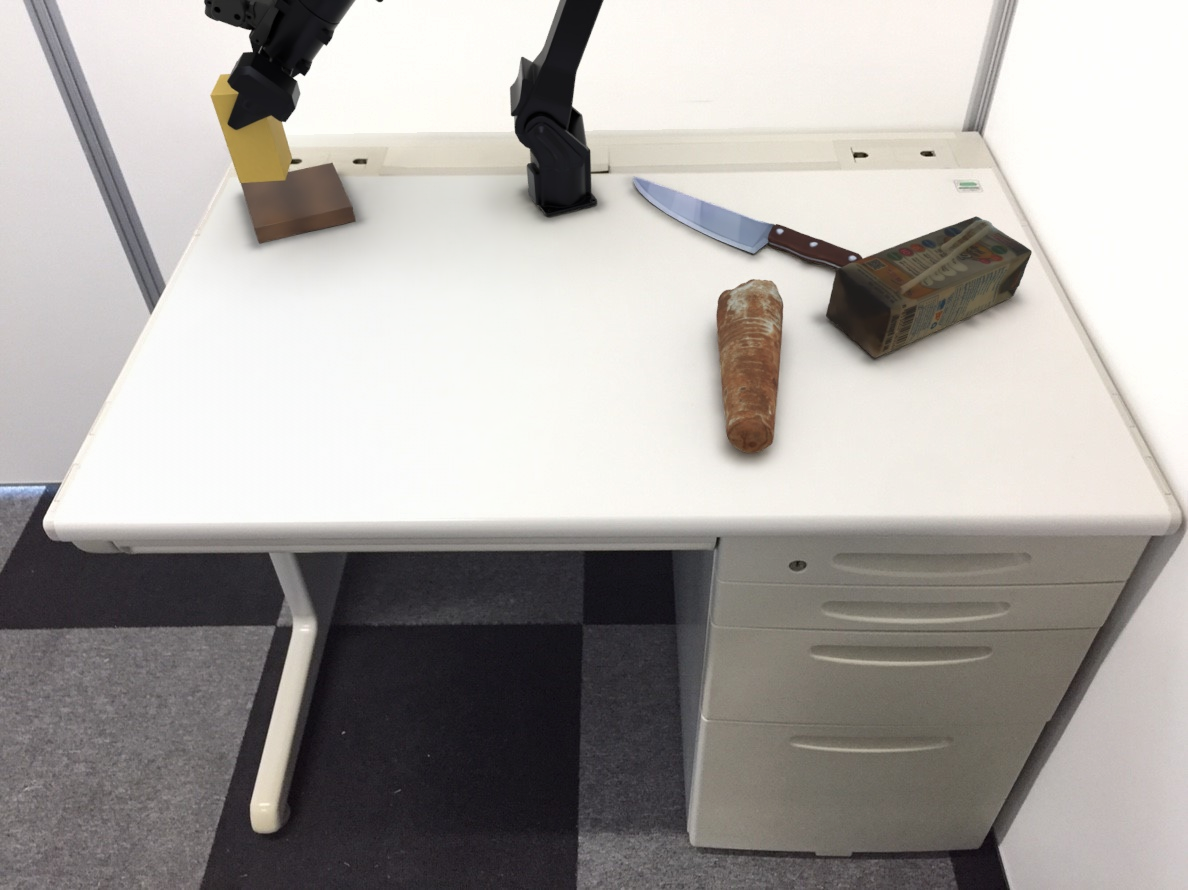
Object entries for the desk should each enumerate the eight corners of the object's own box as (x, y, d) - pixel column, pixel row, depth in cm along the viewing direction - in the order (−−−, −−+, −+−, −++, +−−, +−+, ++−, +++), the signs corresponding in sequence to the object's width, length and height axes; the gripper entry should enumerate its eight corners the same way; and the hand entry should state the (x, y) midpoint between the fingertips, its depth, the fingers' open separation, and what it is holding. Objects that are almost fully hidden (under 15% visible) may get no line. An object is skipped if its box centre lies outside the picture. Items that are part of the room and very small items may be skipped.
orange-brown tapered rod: (779, 324, 91) (787, 277, 87) (777, 463, 78) (785, 416, 74) (715, 319, 92) (720, 273, 88) (702, 456, 78) (707, 409, 74)
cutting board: (336, 177, 113) (332, 162, 111) (355, 221, 106) (352, 206, 104) (245, 196, 110) (240, 181, 109) (258, 243, 103) (253, 228, 101)
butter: (292, 158, 105) (267, 71, 97) (285, 180, 101) (259, 92, 94) (248, 160, 104) (220, 74, 97) (239, 183, 101) (210, 95, 94)
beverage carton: (1019, 300, 93) (1040, 244, 88) (874, 365, 86) (889, 308, 82) (960, 261, 98) (977, 206, 93) (819, 320, 91) (830, 264, 86)
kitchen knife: (844, 288, 94) (848, 272, 93) (610, 200, 109) (610, 185, 107) (866, 269, 97) (869, 254, 95) (634, 185, 111) (634, 171, 110)
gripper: (257, -89, 93) (185, 29, 100) (218, -24, 80) (138, 106, 87) (352, -11, 99) (277, 94, 106) (330, 61, 86) (247, 176, 93)
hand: (236, 115), depth 98 cm, fingers closed on butter, 5 cm apart
